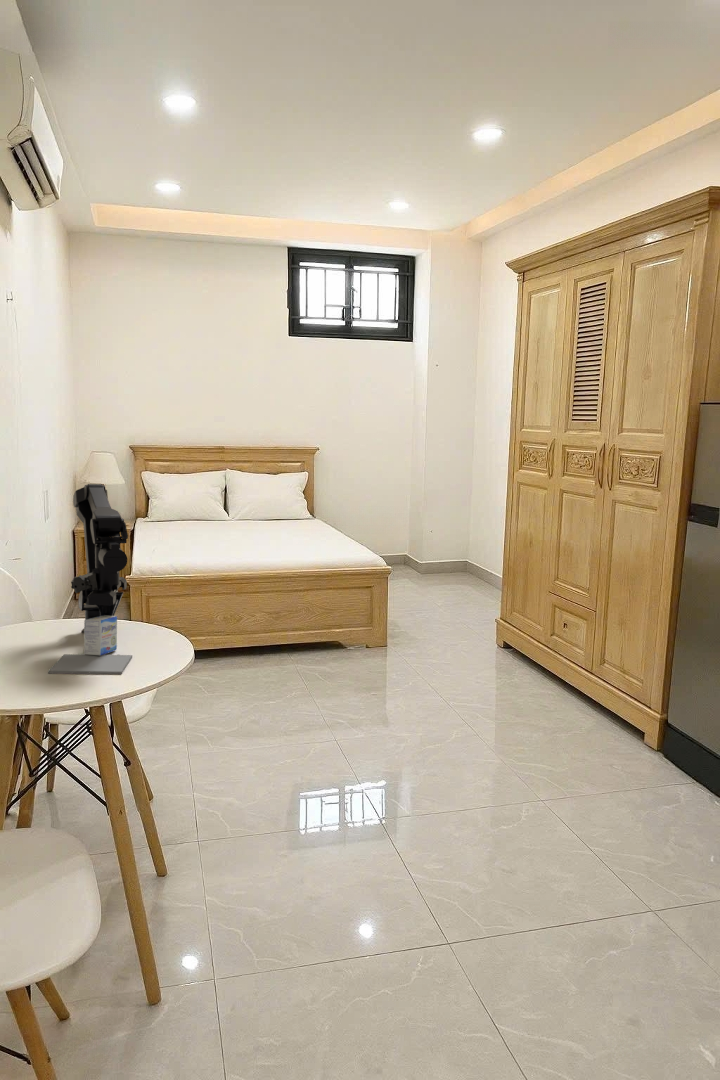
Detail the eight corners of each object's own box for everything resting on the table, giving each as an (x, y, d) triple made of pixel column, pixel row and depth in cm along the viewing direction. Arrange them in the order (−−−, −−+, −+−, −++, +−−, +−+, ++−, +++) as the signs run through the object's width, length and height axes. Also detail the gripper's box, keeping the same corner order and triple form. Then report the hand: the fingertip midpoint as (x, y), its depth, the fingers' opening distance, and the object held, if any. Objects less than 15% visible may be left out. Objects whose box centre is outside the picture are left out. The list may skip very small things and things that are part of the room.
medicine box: (100, 656, 187) (100, 620, 187) (83, 655, 188) (83, 619, 188) (117, 650, 195) (117, 615, 194) (100, 649, 196) (101, 614, 195)
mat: (64, 656, 188) (64, 654, 188) (132, 657, 190) (132, 655, 190) (48, 673, 175) (48, 670, 175) (121, 674, 177) (121, 671, 177)
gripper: (83, 555, 205) (84, 613, 207) (64, 571, 186) (65, 634, 189) (126, 556, 206) (127, 613, 209) (112, 572, 188) (113, 634, 190)
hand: (108, 623), depth 199 cm, fingers open, 3 cm apart
